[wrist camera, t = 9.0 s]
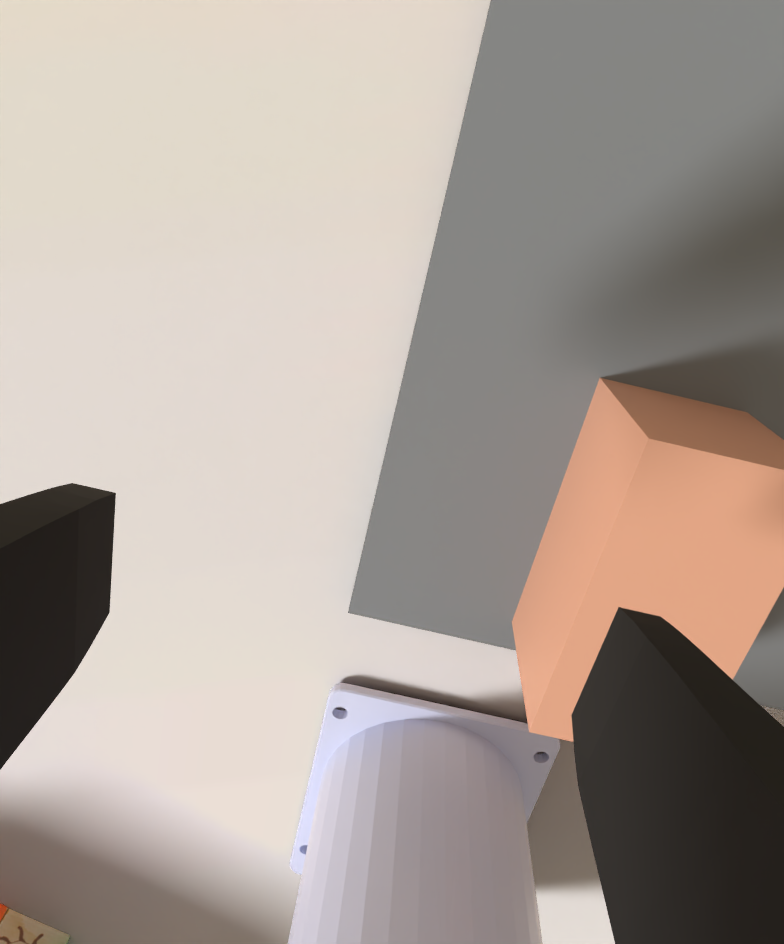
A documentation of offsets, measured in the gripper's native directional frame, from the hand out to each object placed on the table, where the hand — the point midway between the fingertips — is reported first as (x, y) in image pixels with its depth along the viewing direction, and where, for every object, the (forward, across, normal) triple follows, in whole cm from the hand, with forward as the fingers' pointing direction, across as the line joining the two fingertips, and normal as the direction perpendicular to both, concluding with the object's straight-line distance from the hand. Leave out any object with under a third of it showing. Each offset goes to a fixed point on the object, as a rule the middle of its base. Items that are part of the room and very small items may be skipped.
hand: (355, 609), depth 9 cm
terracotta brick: (+9, -7, +2) cm, 12 cm away
